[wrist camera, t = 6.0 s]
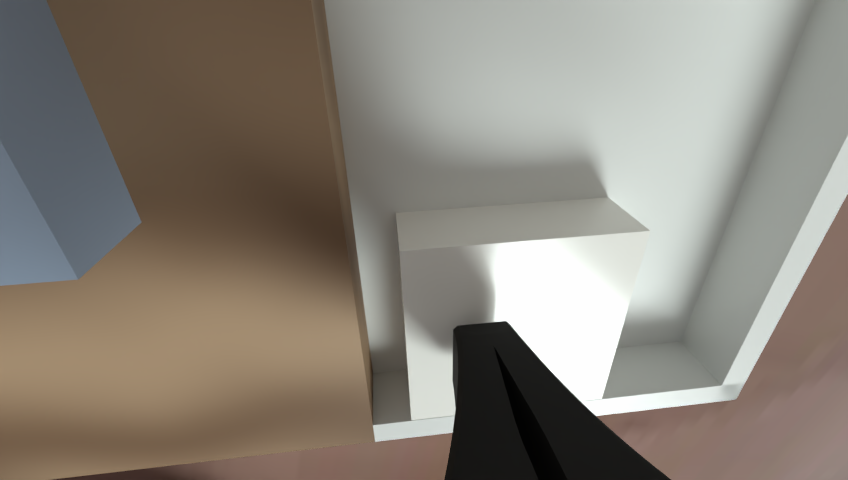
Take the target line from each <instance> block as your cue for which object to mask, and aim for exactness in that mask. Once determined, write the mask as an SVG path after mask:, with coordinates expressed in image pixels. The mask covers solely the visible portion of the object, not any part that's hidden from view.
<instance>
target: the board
mask: <svg viewBox="0 0 848 480" xmlns="http://www.w3.org/2000/svg"><path fill="white" fill-rule="evenodd" d="M46 1H47V3H48V5H49V8H50V10H51V12H52V15H53V17H54V19H55V22H56V24H57V26H58V29H59V31H60V33H61V36H62V38H63V40H64V43H65V45H66V47H67V50H68V52H69V54H70V57H71V59H72V61H73V64H74V66H75V68H76V71H77V73H78V75H79V78H80V80H81V82H82V85H83V87H84V89H85V92H86V94H87V96H88V99H89V101H90V103H91V106H92V108H93V110H94V113H95V115H96V117H97V120H98V122H99V124H100V127H101V129H102V131H103V134H104V136H105V138H106V141H107V143H108V145H109V148H110V150H111V152H112V154H113V157H114V159H115V161H116V164H117V166H118V168H119V171H120V173H121V175H122V178H123V180H124V182H125V185H126V187H127V189H128V192H129V194H130V196H131V199H132V201H133V203H134V206H135V208H136V210H137V213H138V215H139V217H140V220H141V223H140V224H139V225H138V226H137V227H136V228H135V229H134V230H132V231H131V232H130V233H129V234H128V235H127V236H126V237H125V238H124V239H123V240H121V241H120V242H119V243H118V244H117V245H116V246H115V247H114V248H113V249H112V250H110V251H109V252H108V253H107V254H106V255H105V256H104V257H103V258H102V259H101V260H99V261H98V262H97V263H96V264H95V265H94V266H93V267H92V268H91V269H89V270H88V271H87V272H86V273H85V274H84V275H83V276H82V277H81V278H80V279H78V280H66V281H54V282H41V283H29V284H16V285H4V286H0V480H52V479H60V478H69V477H77V476H86V475H95V474H103V473H112V472H120V471H129V470H137V469H146V468H154V467H163V466H172V465H180V464H189V463H197V462H206V461H214V460H223V459H231V458H240V457H248V456H257V455H266V454H274V453H283V452H291V451H300V450H308V449H317V448H325V447H334V446H342V445H351V444H360V443H368V442H375V437H374V430H373V369H372V362H371V354H370V346H369V339H368V331H367V324H366V316H365V308H364V301H363V293H362V286H361V278H360V270H359V263H358V255H357V248H356V240H355V232H354V225H353V217H352V210H351V202H350V194H349V187H348V179H347V172H346V164H345V156H344V149H343V141H342V134H341V126H340V118H339V111H338V103H337V95H336V88H335V80H334V73H333V65H332V57H331V50H330V42H329V35H328V27H327V19H326V12H325V4H324V0H46Z"/></svg>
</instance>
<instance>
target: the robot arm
mask: <svg viewBox="0 0 848 480" xmlns="http://www.w3.org/2000/svg"><path fill="white" fill-rule="evenodd" d="M452 381H453V388H454V396H455V407H456V410H455V418H454V426H453V434H452V441H451V447H450V453H449V459H448V465H447V470H446V475H445V480H671V479H669V478H668V477H667V476H666V475H664V474H663V473H662V472H661V471H659V470H658V469H657V468H655V467H654V466H653V465H652V464H650V463H649V462H648V461H647V460H646V459H644V458H643V457H642V456H641V455H640V454H638V453H637V452H636V451H635V450H634V449H632V448H631V447H630V446H629V445H628V444H626V443H625V442H624V441H623V440H622V439H621V438H619V437H618V436H617V435H616V434H615V433H614V432H613V431H612V430H610V429H609V428H608V427H607V426H606V425H605V424H604V423H603V422H602V421H601V420H600V419H598V418H597V417H596V416H595V415H594V414H593V413H592V412H591V411H590V410H589V409H588V408H587V407H586V406H585V405H584V404H583V403H582V402H581V401H580V400H579V399H578V398H577V397H576V396H575V395H574V394H573V393H572V392H571V391H570V390H569V389H568V388H567V387H566V386H565V385H564V384H563V383H562V382H561V381H560V380H559V379H558V378H557V377H556V376H555V375H554V374H553V373H552V372H551V371H550V370H549V369H548V367H547V366H546V365H545V364H544V363H543V362H542V361H541V360H540V359H539V358H538V356H537V355H536V354H535V353H534V352H533V351H532V350H531V349H530V347H529V346H528V345H527V344H526V343H525V342H524V340H523V339H522V338H521V337H520V336H519V335H518V333H517V332H516V331H515V330H514V329H513V327H512V326H511V325H510V324H509V323H508V322H507V321H500V322H490V323H479V324H469V325H458V326H457V327H455V328H454V329H453V378H452Z"/></svg>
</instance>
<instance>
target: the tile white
mask: <svg viewBox="0 0 848 480" xmlns="http://www.w3.org/2000/svg"><path fill="white" fill-rule="evenodd" d="M396 226H397V240H398V254H399V268H400V282H401V296H402V310H403V324H404V338H405V352H406V366H407V377H408V388H409V400H410V411H411V420H419V419H427V418H436V417H445V416H454V415H455V410H456V407H455V396H454V388H453V381H452V378H453V329H454V328H455V327H457V326H458V325H469V324H479V323H490V322H500V321H507V322H508V323H509V324H510V325H511V326H512V327H513V329H514V330H515V331H516V332H517V333H518V335H519V336H520V337H521V338H522V339H523V340H524V342H525V343H526V344H527V345H528V346H529V347H530V349H531V350H532V351H533V352H534V353H535V354H536V355H537V356H538V358H539V359H540V360H541V361H542V362H543V363H544V364H545V365H546V366H547V367H548V369H549V370H550V371H551V372H552V373H553V374H554V375H555V376H556V377H557V378H558V379H559V380H560V381H561V382H562V383H563V384H564V385H565V386H566V387H567V388H568V389H569V390H570V391H571V392H572V393H573V394H574V395H575V396H576V397H577V398H578V399H579V400H580V401H585V400H594V399H602V396H603V393H604V389H605V386H606V382H607V379H608V376H609V372H610V369H611V365H612V362H613V358H614V355H615V351H616V348H617V344H618V341H619V338H620V334H621V331H622V327H623V324H624V320H625V317H626V313H627V310H628V306H629V303H630V300H631V296H632V293H633V289H634V286H635V282H636V279H637V275H638V272H639V268H640V265H641V262H642V258H643V255H644V251H645V248H646V244H647V241H648V237H649V234H650V230H649V229H647V228H646V227H645V226H644V225H642V224H641V223H640V222H639V221H637V220H636V219H635V218H634V217H632V216H631V215H630V214H629V213H627V212H626V211H625V210H624V209H622V208H621V207H620V206H619V205H617V204H616V203H615V202H614V201H612V200H611V199H610V198H608V197H605V198H591V199H577V200H564V201H550V202H536V203H523V204H509V205H495V206H482V207H468V208H454V209H441V210H427V211H413V212H400V213H396Z"/></svg>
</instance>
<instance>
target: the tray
mask: <svg viewBox="0 0 848 480" xmlns="http://www.w3.org/2000/svg"><path fill="white" fill-rule="evenodd" d="M324 4H325V12H326V19H327V27H328V35H329V42H330V50H331V57H332V65H333V73H334V80H335V88H336V95H337V103H338V111H339V118H340V126H341V134H342V141H343V149H344V156H345V164H346V172H347V179H348V187H349V194H350V202H351V210H352V217H353V225H354V232H355V240H356V248H357V255H358V263H359V270H360V278H361V286H362V293H363V301H364V308H365V316H366V324H367V331H368V339H369V346H370V354H371V362H372V369H373V430H374V437H375V442H377V441H385V440H394V439H402V438H411V437H419V436H428V435H436V434H445V433H453V426H454V418H455V415H454V416H445V417H436V418H427V419H419V420H411V411H410V400H409V388H408V377H407V366H406V352H405V338H404V324H403V310H402V296H401V282H400V268H399V254H398V240H397V226H396V213H400V212H413V211H427V210H441V209H454V208H468V207H482V206H495V205H509V204H523V203H536V202H550V201H564V200H577V199H591V198H605V197H608V198H610V199H611V200H612V201H614V202H615V203H616V204H617V205H619V206H620V207H621V208H622V209H624V210H625V211H626V212H627V213H629V214H630V215H631V216H632V217H634V218H635V219H636V220H637V221H639V222H640V223H641V224H642V225H644V226H645V227H646V228H647V229H649V230H650V234H649V237H648V241H647V244H646V248H645V251H644V255H643V258H642V262H641V265H640V268H639V272H638V275H637V279H636V282H635V286H634V289H633V293H632V296H631V300H630V303H629V306H628V310H627V313H626V317H625V320H624V324H623V327H622V331H621V334H620V338H619V341H618V344H617V348H616V351H615V355H614V358H613V362H612V365H611V369H610V372H609V376H608V379H607V382H606V386H605V389H604V393H603V396H602V399H594V400H585V401H581V402H582V403H583V404H584V405H585V406H586V407H587V408H588V409H589V410H590V411H591V412H592V413H593V414H594V415H595V416H599V415H607V414H616V413H625V412H633V411H642V410H650V409H659V408H667V407H676V406H684V405H693V404H701V403H710V402H719V401H727V400H736V399H737V397H738V395H739V393H740V391H741V389H742V387H743V386H744V384H745V382H746V380H747V378H748V376H749V375H750V373H751V371H752V369H753V367H754V365H755V363H756V362H757V360H758V358H759V356H760V354H761V352H762V351H763V349H764V347H765V345H766V343H767V341H768V340H769V338H770V336H771V334H772V332H773V330H774V328H775V327H776V325H777V323H778V321H779V319H780V317H781V316H782V314H783V312H784V310H785V308H786V306H787V304H788V303H789V301H790V299H791V297H792V295H793V293H794V292H795V290H796V288H797V286H798V284H799V282H800V281H801V279H802V277H803V275H804V273H805V271H806V269H807V268H808V266H809V264H810V262H811V260H812V258H813V257H814V255H815V253H816V251H817V249H818V247H819V245H820V244H821V242H822V240H823V238H824V236H825V234H826V233H827V231H828V229H829V227H830V225H831V223H832V222H833V220H834V218H835V216H836V214H837V212H838V210H839V209H840V207H841V205H842V203H843V201H844V199H845V198H846V196H847V194H848V0H324Z"/></svg>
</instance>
